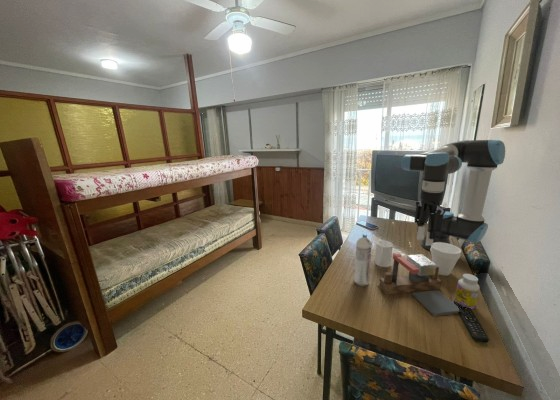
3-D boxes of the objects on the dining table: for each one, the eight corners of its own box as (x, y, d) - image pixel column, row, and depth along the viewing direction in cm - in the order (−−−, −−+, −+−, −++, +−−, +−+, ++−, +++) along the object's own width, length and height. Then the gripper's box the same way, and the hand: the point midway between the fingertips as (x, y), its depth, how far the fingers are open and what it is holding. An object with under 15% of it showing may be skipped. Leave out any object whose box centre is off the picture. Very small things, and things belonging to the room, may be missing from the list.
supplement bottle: (450, 299, 94) (455, 272, 90) (464, 297, 94) (470, 271, 91) (464, 310, 87) (470, 282, 84) (479, 309, 88) (486, 281, 84)
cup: (430, 276, 109) (434, 251, 106) (424, 263, 120) (428, 240, 117) (460, 280, 105) (466, 255, 101) (451, 267, 116) (455, 243, 112)
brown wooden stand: (430, 280, 106) (435, 252, 102) (440, 288, 100) (445, 258, 96) (379, 285, 104) (382, 256, 100) (386, 294, 98) (389, 263, 94)
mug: (386, 272, 114) (389, 251, 111) (370, 266, 119) (371, 246, 116) (392, 262, 122) (395, 242, 119) (377, 257, 128) (378, 238, 125)
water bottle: (361, 288, 102) (365, 239, 96) (350, 280, 108) (353, 233, 102) (371, 283, 105) (376, 235, 99) (360, 276, 111) (364, 230, 105)
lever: (419, 273, 86) (420, 269, 86) (412, 274, 86) (412, 270, 85) (397, 256, 99) (398, 252, 98) (391, 257, 98) (391, 253, 98)
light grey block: (420, 263, 104) (421, 254, 103) (434, 274, 96) (436, 264, 94) (406, 264, 104) (407, 255, 102) (419, 275, 95) (421, 265, 94)
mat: (437, 292, 98) (438, 290, 98) (461, 312, 86) (462, 310, 86) (412, 294, 97) (412, 292, 97) (433, 315, 85) (434, 313, 85)
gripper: (409, 186, 98) (403, 234, 104) (441, 196, 81) (431, 252, 87) (424, 186, 99) (417, 233, 105) (459, 195, 82) (449, 251, 88)
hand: (424, 242), depth 96 cm, fingers open, 5 cm apart
